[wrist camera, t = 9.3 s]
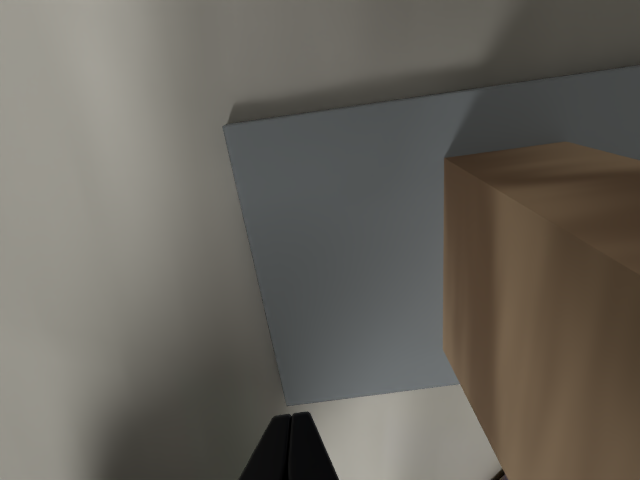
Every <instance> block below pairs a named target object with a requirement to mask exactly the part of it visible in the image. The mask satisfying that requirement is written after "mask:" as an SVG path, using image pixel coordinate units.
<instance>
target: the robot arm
mask: <svg viewBox="0 0 640 480" xmlns="http://www.w3.org/2000/svg"><path fill="white" fill-rule="evenodd" d="M239 480H339V478H338V476H337V474H336V472H335V469H334V467H333V465H332V462H331V460H330V458H329V455H328V453H327V451H326V449H325V446H324V444H323V442H322V439H321V437H320V435H319V432H318V430H317V428H316V425H315V423H314V421H313V419H312V416H311V414H310V413H309V412H300V413H294V414H293V415H292V416H291V415H290V414H285V415H277V416H274V417H273V418H272V419H271V421H270V423H269V425H268V427H267V429H266V430H265V432H264V434H263V436H262V438H261V440H260V441H259V443H258V445H257V447H256V449H255V450H254V452H253V454H252V456H251V458H250V460H249V461H248V463H247V465H246V467H245V469H244V471H243V472H242V474H241V476H240V478H239Z"/></svg>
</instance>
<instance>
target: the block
mask: <svg viewBox="0 0 640 480" xmlns="http://www.w3.org/2000/svg"><path fill="white" fill-rule="evenodd" d="M443 351H444V353H445V355H446V357H447V359H448V361H449V363H450V365H451V367H452V369H453V371H454V373H455V375H456V377H457V379H458V381H459V383H460V385H461V387H462V389H463V391H464V393H465V395H466V397H467V399H468V401H469V403H470V405H471V407H472V409H473V411H474V413H475V415H476V416H477V418H478V420H479V422H480V424H481V426H482V428H483V430H484V432H485V434H486V436H487V438H488V440H489V442H490V444H491V446H492V448H493V450H494V452H495V454H496V456H497V458H498V460H499V462H500V464H501V466H502V468H503V470H504V472H505V474H506V476H507V478H508V480H640V160H636V159H632V158H629V157H625V156H621V155H617V154H613V153H609V152H605V151H601V150H597V149H593V148H590V147H586V146H582V145H578V144H574V143H570V142H558V143H551V144H543V145H536V146H529V147H521V148H514V149H507V150H499V151H492V152H484V153H477V154H470V155H462V156H455V157H448V158H444V247H443Z"/></svg>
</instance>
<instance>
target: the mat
mask: <svg viewBox="0 0 640 480" xmlns="http://www.w3.org/2000/svg"><path fill="white" fill-rule="evenodd" d="M222 127H223V131H224V135H225V140H226V144H227V148H228V153H229V157H230V161H231V166H232V170H233V174H234V179H235V183H236V187H237V192H238V196H239V200H240V205H241V209H242V214H243V218H244V222H245V227H246V231H247V235H248V240H249V244H250V248H251V253H252V257H253V261H254V266H255V270H256V274H257V279H258V283H259V287H260V292H261V296H262V301H263V305H264V309H265V314H266V318H267V322H268V327H269V331H270V335H271V340H272V344H273V348H274V353H275V357H276V361H277V366H278V370H279V375H280V379H281V383H282V388H283V392H284V396H285V401H286V405H287V406H293V405H300V404H308V403H316V402H324V401H331V400H339V399H347V398H355V397H363V396H370V395H378V394H386V393H394V392H402V391H409V390H417V389H425V388H433V387H441V386H448V385H456V384H460V383H459V381H458V379H457V377H456V375H455V373H454V371H453V369H452V367H451V365H450V363H449V361H448V359H447V357H446V355H445V353H444V351H443V247H444V158H448V157H455V156H462V155H470V154H477V153H484V152H492V151H499V150H507V149H514V148H521V147H529V146H536V145H543V144H551V143H558V142H570V143H574V144H578V145H582V146H586V147H590V148H593V149H597V150H601V151H605V152H609V153H613V154H617V155H621V156H625V157H629V158H632V159H636V160H640V65H636V66H629V67H622V68H615V69H608V70H601V71H594V72H587V73H580V74H573V75H566V76H559V77H552V78H545V79H538V80H531V81H524V82H517V83H510V84H503V85H496V86H489V87H482V88H475V89H468V90H461V91H454V92H447V93H440V94H433V95H426V96H419V97H412V98H405V99H398V100H391V101H384V102H377V103H370V104H363V105H356V106H349V107H342V108H335V109H328V110H321V111H314V112H307V113H300V114H293V115H286V116H279V117H272V118H265V119H258V120H251V121H244V122H237V123H230V124H226V125H224V126H222Z"/></svg>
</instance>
